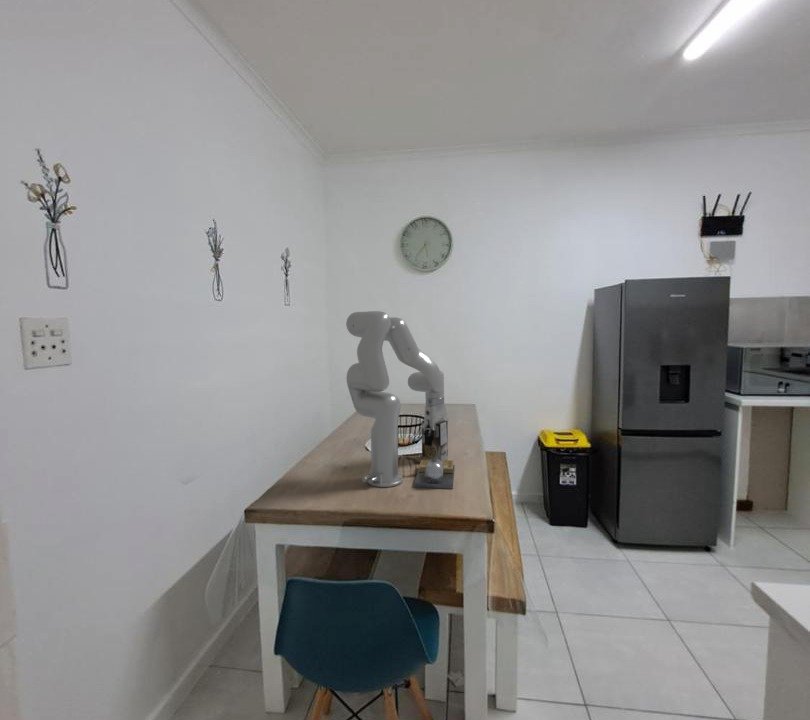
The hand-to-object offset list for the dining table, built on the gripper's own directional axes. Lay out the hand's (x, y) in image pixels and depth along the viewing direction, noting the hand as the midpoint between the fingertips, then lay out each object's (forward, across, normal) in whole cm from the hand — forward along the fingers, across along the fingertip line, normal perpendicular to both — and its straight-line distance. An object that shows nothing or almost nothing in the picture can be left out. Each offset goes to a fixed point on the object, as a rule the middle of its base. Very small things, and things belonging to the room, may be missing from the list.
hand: (435, 442), depth 173 cm
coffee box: (+7, -1, 0) cm, 7 cm away
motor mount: (+7, -17, -12) cm, 22 cm away
